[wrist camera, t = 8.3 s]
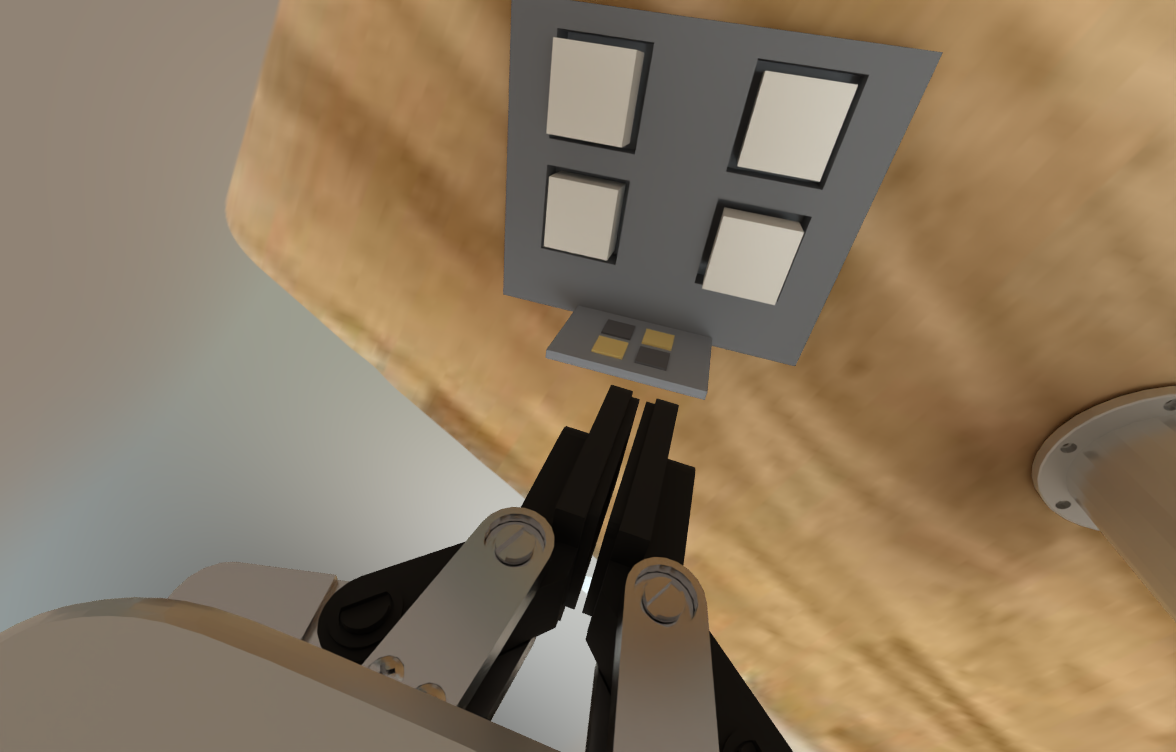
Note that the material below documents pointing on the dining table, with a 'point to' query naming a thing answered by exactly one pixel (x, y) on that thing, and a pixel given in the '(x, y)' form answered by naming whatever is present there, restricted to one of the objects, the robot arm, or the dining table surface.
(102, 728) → the robot arm
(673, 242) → the board
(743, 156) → the button
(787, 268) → the button
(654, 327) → the card
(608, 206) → the button
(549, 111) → the button
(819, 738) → the dining table surface
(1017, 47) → the dining table surface
